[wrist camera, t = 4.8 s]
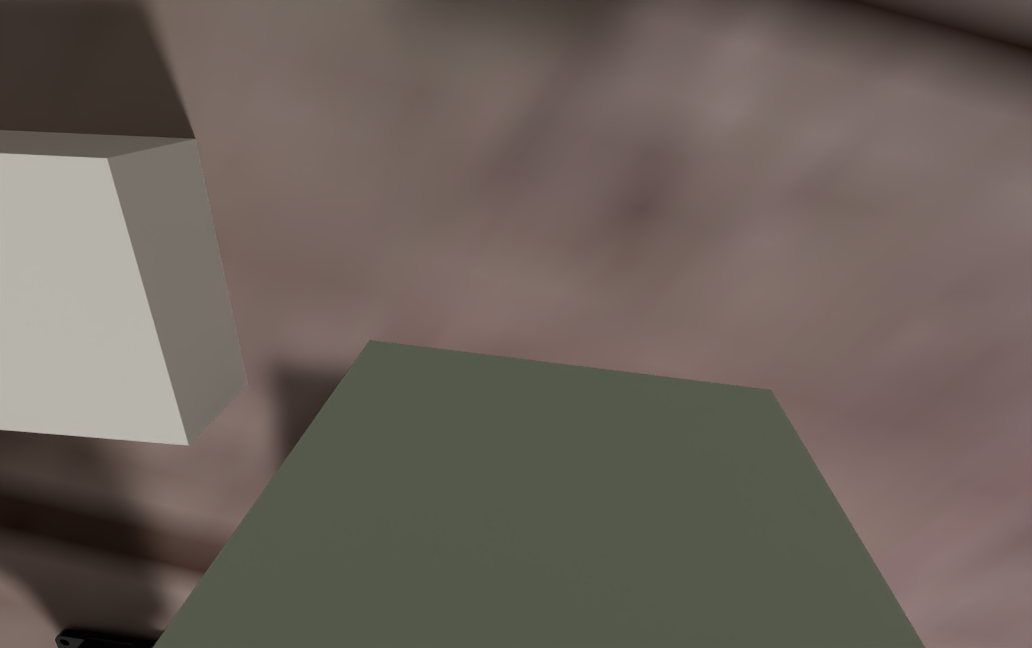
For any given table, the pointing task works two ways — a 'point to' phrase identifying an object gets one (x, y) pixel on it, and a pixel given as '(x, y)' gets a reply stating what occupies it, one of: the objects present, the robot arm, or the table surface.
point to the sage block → (541, 520)
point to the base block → (111, 290)
